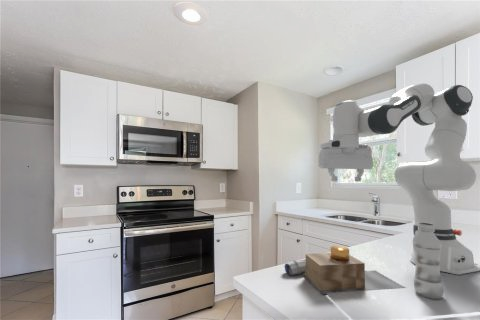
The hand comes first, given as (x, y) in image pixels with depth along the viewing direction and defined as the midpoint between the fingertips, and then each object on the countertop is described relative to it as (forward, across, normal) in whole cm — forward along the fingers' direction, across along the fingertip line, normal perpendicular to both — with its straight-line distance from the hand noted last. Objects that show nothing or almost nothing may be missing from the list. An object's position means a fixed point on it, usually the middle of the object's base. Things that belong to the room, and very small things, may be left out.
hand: (346, 181), depth 92 cm
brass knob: (+30, +10, +12) cm, 34 cm away
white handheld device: (+32, +12, +2) cm, 34 cm away
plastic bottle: (+31, -10, +23) cm, 40 cm away
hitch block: (+31, +6, +12) cm, 34 cm away
